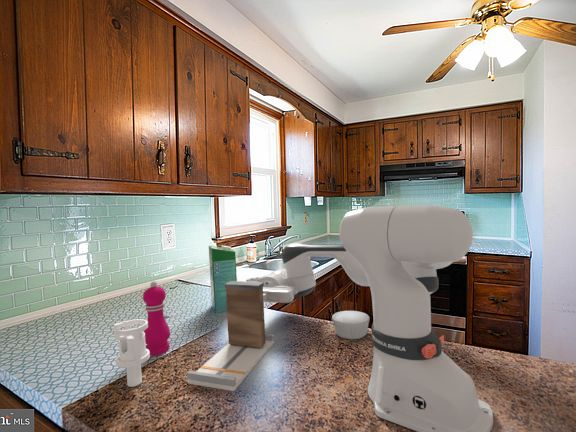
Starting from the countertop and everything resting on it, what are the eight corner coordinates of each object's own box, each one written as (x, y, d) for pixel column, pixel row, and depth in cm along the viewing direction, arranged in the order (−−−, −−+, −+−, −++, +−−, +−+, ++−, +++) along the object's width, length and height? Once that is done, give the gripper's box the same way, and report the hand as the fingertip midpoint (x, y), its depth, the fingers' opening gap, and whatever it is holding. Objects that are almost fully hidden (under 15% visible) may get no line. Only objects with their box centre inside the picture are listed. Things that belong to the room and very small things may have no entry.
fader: (233, 339, 91) (230, 280, 90) (266, 342, 87) (263, 282, 87) (227, 344, 87) (224, 284, 87) (261, 348, 84) (258, 285, 83)
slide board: (236, 339, 94) (236, 331, 94) (273, 343, 90) (273, 334, 90) (187, 383, 71) (187, 372, 71) (234, 391, 68) (233, 380, 67)
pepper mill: (161, 357, 85) (157, 284, 84) (138, 355, 86) (133, 284, 85) (176, 345, 92) (172, 278, 91) (154, 344, 93) (150, 278, 92)
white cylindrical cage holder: (113, 383, 73) (109, 320, 72) (144, 371, 78) (141, 312, 77) (123, 396, 68) (118, 328, 67) (155, 382, 72) (152, 319, 72)
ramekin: (326, 330, 98) (325, 313, 98) (356, 323, 102) (355, 308, 102) (344, 344, 88) (344, 326, 88) (377, 336, 92) (376, 319, 92)
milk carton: (238, 308, 122) (235, 245, 121) (215, 312, 119) (211, 247, 118) (233, 302, 130) (230, 243, 129) (211, 305, 127) (208, 245, 126)
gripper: (300, 299, 103) (286, 313, 90) (244, 295, 110) (224, 308, 96) (299, 280, 103) (285, 292, 90) (243, 278, 109) (223, 288, 96)
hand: (253, 300), depth 93 cm, fingers closed
